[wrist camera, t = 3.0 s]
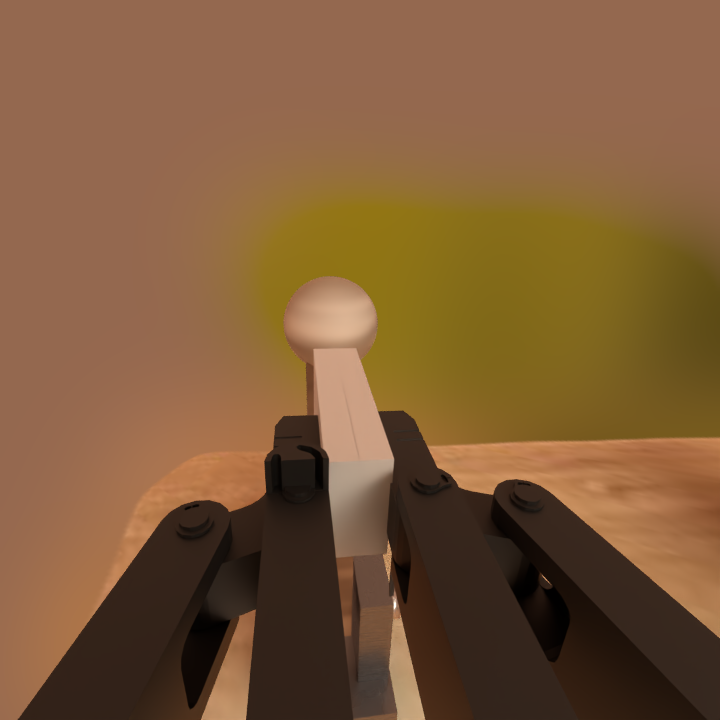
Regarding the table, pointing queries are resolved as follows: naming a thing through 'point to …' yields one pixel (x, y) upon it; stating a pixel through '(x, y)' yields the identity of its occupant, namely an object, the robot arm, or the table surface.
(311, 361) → the lever
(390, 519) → the robot arm
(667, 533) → the table surface
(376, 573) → the press base
